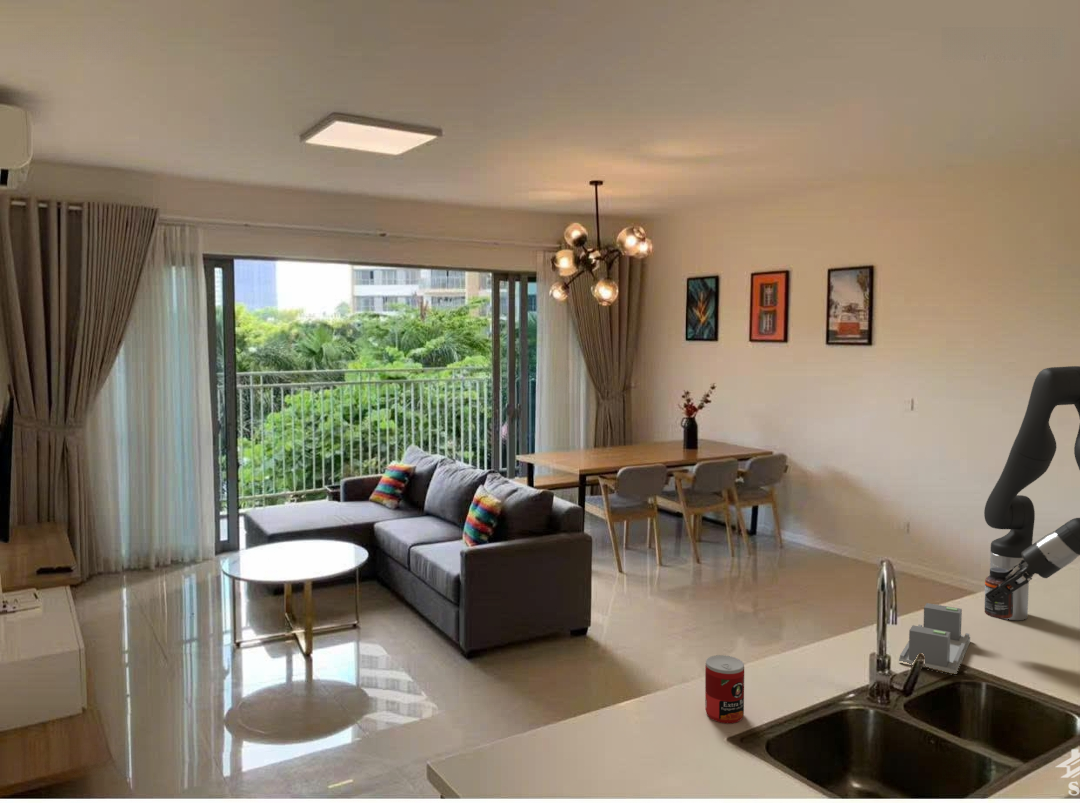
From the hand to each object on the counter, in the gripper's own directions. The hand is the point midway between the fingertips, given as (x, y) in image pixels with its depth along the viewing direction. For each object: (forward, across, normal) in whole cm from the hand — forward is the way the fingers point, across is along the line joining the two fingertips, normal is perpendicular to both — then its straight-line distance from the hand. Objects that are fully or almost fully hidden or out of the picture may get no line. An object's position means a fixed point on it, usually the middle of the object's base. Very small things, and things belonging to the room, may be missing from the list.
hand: (990, 594), depth 189 cm
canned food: (+38, +67, -19) cm, 80 cm away
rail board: (+17, +8, +2) cm, 19 cm away
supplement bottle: (+2, 0, +5) cm, 5 cm away
